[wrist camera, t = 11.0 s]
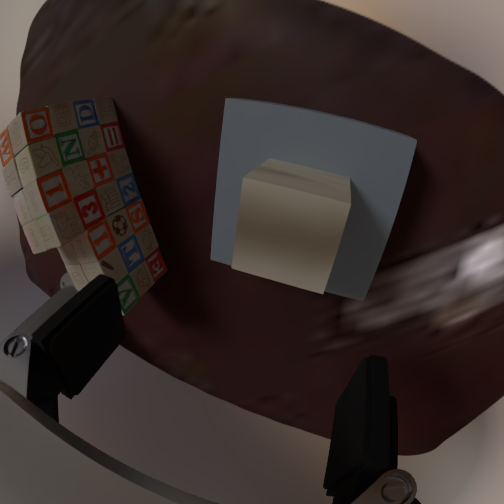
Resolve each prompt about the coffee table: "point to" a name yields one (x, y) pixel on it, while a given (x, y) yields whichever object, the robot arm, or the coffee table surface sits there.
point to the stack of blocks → (81, 195)
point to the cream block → (291, 223)
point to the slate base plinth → (321, 158)
